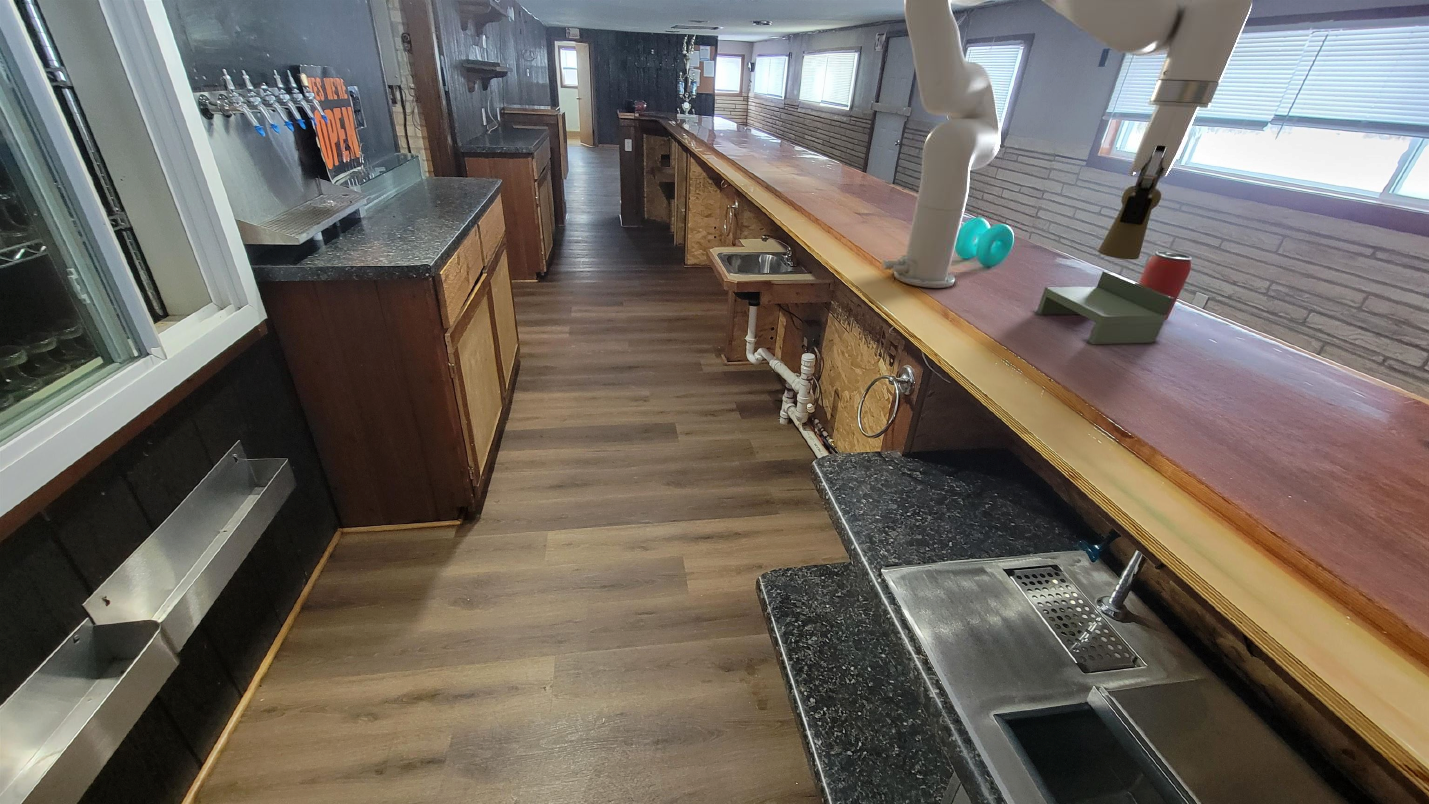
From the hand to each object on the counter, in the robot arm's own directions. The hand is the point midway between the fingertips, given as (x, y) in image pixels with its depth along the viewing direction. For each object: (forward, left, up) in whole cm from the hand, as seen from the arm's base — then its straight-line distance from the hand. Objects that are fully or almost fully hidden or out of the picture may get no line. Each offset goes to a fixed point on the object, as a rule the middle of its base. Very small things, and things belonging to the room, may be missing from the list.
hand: (1132, 219), depth 93 cm
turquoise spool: (+3, +41, -19) cm, 46 cm away
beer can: (+16, +4, -19) cm, 25 cm away
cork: (0, 0, -6) cm, 6 cm away
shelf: (+1, 0, -19) cm, 19 cm away
